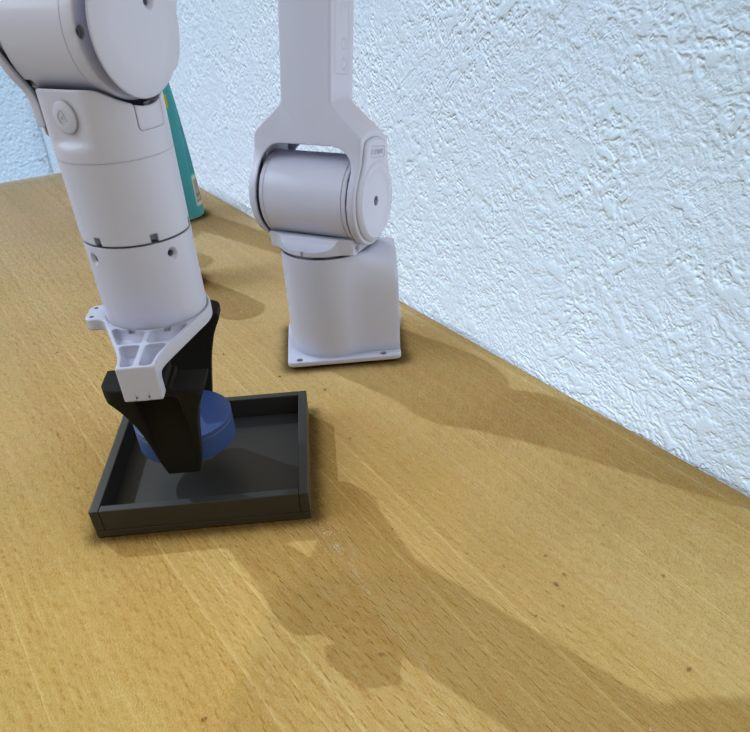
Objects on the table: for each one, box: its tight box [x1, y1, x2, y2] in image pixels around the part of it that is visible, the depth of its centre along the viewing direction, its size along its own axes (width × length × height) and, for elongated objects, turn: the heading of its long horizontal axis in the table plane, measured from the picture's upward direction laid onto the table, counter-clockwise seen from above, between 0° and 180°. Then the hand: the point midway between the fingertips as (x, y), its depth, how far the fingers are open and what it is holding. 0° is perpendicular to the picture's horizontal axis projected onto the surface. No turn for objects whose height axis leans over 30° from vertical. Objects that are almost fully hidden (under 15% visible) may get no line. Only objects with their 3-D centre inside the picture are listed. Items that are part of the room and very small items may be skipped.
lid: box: [133, 390, 236, 463], centre depth 45 cm, size 6×6×2 cm
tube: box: [163, 82, 205, 221], centre depth 85 cm, size 7×5×19 cm, turn 31°
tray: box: [88, 390, 313, 538], centre depth 47 cm, size 13×12×2 cm
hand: (191, 438), depth 46 cm, fingers closed on lid, 6 cm apart
